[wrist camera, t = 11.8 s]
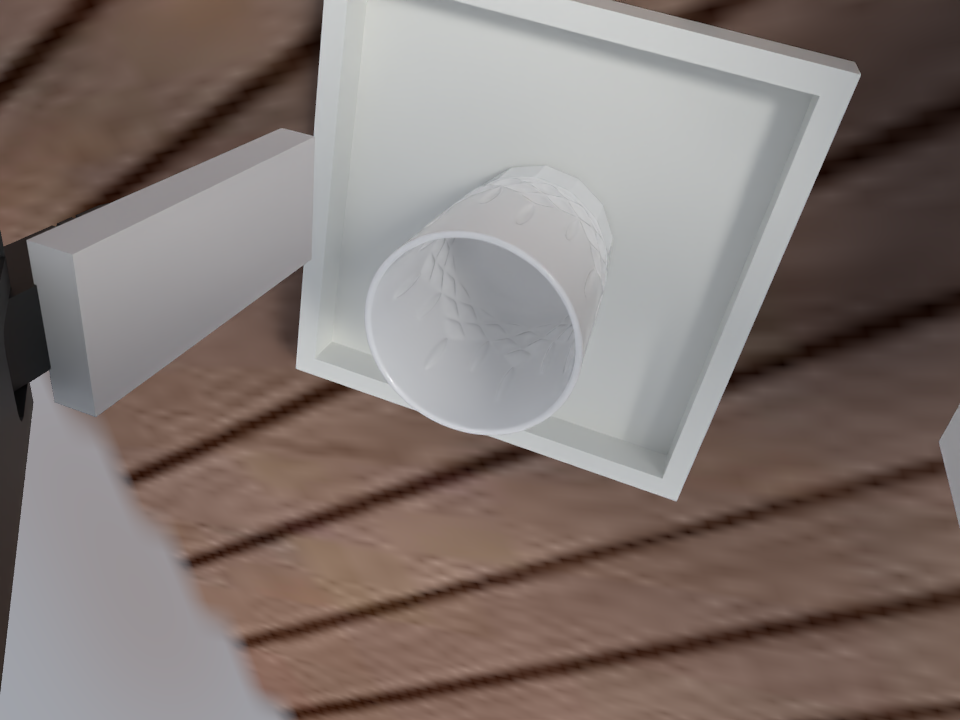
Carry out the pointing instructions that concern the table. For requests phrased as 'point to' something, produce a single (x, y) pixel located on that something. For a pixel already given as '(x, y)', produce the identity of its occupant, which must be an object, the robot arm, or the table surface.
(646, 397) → the grey tray
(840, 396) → the table surface
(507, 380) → the white cup
